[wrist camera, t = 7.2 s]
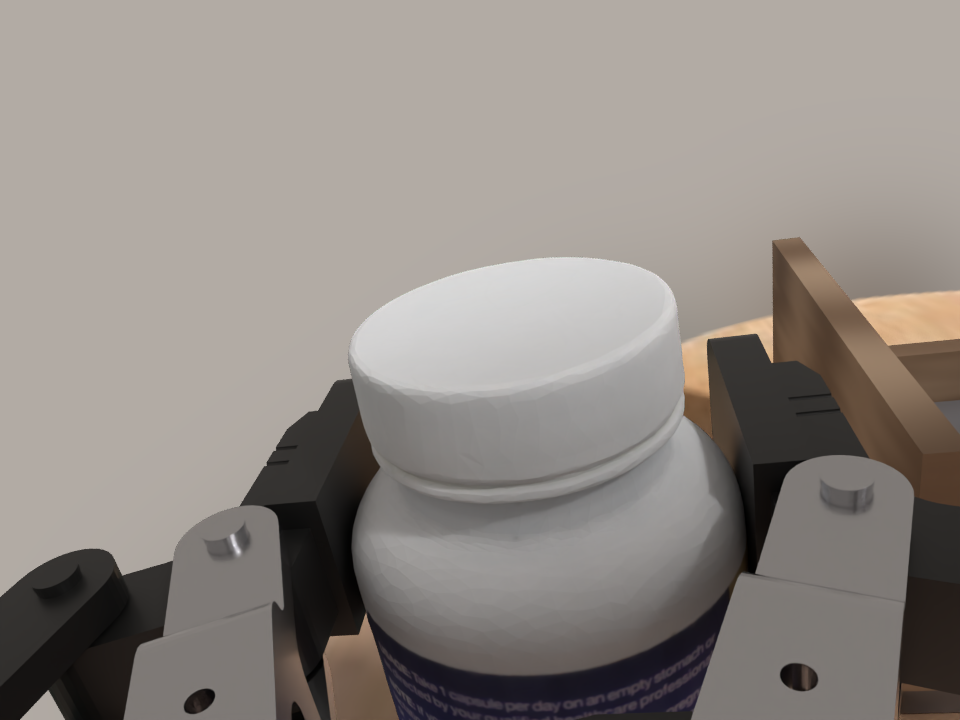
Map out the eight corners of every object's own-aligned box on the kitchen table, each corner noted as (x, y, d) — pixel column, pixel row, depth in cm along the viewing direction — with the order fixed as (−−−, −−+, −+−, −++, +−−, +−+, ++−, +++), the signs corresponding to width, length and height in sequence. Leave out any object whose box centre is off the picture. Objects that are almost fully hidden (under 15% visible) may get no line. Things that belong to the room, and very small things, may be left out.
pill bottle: (835, 901, 11) (847, 334, 8) (481, 1045, 11) (299, 490, 7) (666, 642, 16) (622, 215, 12) (413, 727, 15) (285, 298, 12)
